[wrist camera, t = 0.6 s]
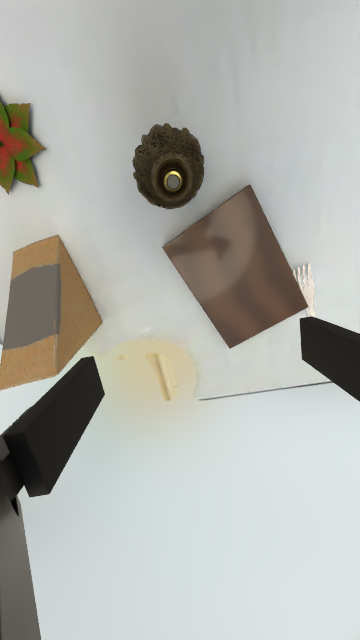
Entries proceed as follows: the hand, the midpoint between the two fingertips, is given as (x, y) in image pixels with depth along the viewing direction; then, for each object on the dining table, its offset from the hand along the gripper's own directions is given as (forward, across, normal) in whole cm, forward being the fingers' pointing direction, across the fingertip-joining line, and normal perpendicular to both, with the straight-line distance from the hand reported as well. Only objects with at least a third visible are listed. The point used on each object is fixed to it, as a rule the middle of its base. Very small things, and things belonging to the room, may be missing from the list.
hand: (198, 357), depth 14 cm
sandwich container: (+24, -20, +6) cm, 32 cm away
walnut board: (+22, +9, +2) cm, 24 cm away
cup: (+21, +1, +17) cm, 27 cm away
